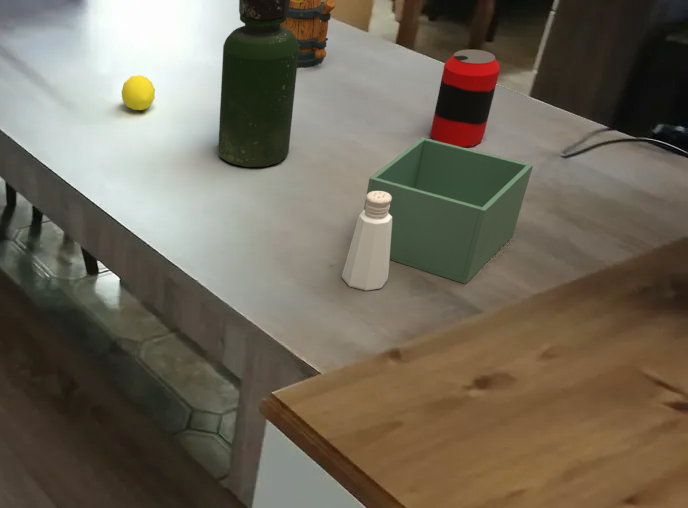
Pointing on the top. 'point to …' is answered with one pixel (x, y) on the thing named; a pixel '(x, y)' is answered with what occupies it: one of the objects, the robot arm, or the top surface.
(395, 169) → the green open box
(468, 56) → the soda can
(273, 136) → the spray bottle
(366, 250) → the pepper shaker
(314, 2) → the mug
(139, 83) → the lemon
